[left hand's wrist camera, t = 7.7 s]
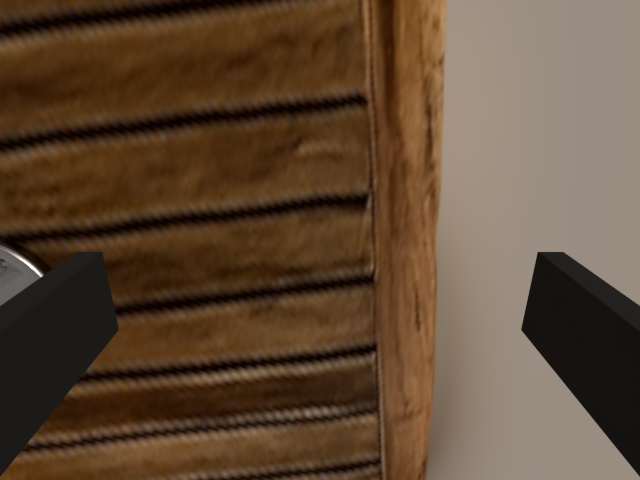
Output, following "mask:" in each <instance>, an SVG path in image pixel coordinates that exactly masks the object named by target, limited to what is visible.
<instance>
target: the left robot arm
mask: <svg viewBox="0 0 640 480" xmlns="http://www.w3.org/2000/svg"><path fill="white" fill-rule="evenodd" d="M118 330H119V329H118V324H117V319H116V315H115V310H114V305H113V301H112V296H111V291H110V287H109V282H108V277H107V273H106V268H105V263H104V258H103V254H102V252H76V253H75V254H73V255H72V256H70V257H69V258H68V259H66V260H65V261H63V262H62V263H61V264H59V265H58V266H56V267H55V268H53V269H52V270H51V268H50V267H49V266H48V265H47V264H46V263H45V262H43V261H42V260H41V259H40V258H39V257H37V256H36V255H35V254H33V253H32V252H31V251H29V250H27V249H26V248H24V247H22V246H20V245H18V244H16V243H14V242H12V241H10V240H7V239H4V238H1V237H0V476H1V475H2V474H3V472H4V471H5V470H6V469H7V468H8V466H9V465H10V464H11V463H12V461H13V460H14V459H15V458H16V456H17V455H18V454H19V453H20V451H21V450H22V449H23V448H24V446H25V445H26V444H27V443H28V442H29V440H30V439H31V438H32V437H33V435H34V434H35V433H36V432H37V430H38V429H39V428H40V427H41V425H42V424H43V423H44V422H45V421H46V419H47V418H48V417H49V416H50V414H51V413H52V412H53V411H54V409H55V408H56V407H57V406H58V404H59V403H60V402H61V401H62V399H63V398H64V397H65V396H66V395H67V393H68V392H69V391H70V390H71V388H72V387H73V386H74V385H75V383H76V382H77V381H78V380H79V378H80V377H81V376H82V375H83V374H84V372H85V371H86V370H87V369H88V367H89V366H90V365H91V364H92V362H93V361H94V360H95V359H96V357H97V356H98V355H99V354H100V352H101V351H102V350H103V349H104V348H105V346H106V345H107V344H108V343H109V341H110V340H111V339H112V338H113V336H114V335H115V334H116V333H117V331H118ZM521 330H522V331H523V333H524V334H525V335H526V336H527V338H528V339H529V340H530V341H531V343H532V344H533V345H534V346H535V348H536V349H537V350H538V351H539V352H540V354H541V355H542V356H543V357H544V359H545V360H546V361H547V362H548V364H549V365H550V366H551V367H552V369H553V370H554V371H555V372H556V374H557V375H558V376H559V377H560V378H561V380H562V381H563V382H564V383H565V385H566V386H567V387H568V388H569V390H570V391H571V392H572V393H573V395H574V396H575V397H576V398H577V399H578V401H579V402H580V403H581V404H582V406H583V407H584V408H585V409H586V411H587V412H588V413H589V414H590V416H591V417H592V418H593V419H594V421H595V422H596V423H597V424H598V425H599V427H600V428H601V429H602V430H603V432H604V433H605V434H606V435H607V437H608V438H609V439H610V440H611V442H612V443H613V444H614V445H615V446H616V448H617V449H618V450H619V451H620V453H621V454H622V455H623V456H624V458H625V459H626V460H627V461H628V463H629V464H630V465H631V466H632V468H633V469H634V470H635V471H636V472H637V474H638V475H639V476H640V306H639V305H638V304H636V303H635V302H633V301H632V300H631V299H629V298H628V297H626V296H625V295H624V294H622V293H621V292H619V291H618V290H616V289H615V288H614V287H612V286H611V285H609V284H608V283H606V282H605V281H604V280H602V279H601V278H599V277H598V276H597V275H595V274H594V273H592V272H591V271H589V270H588V269H587V268H585V267H584V266H582V265H581V264H579V263H578V262H577V261H575V260H574V259H572V258H571V257H570V256H568V255H567V254H565V253H564V252H538V254H537V258H536V263H535V268H534V273H533V277H532V282H531V287H530V291H529V296H528V301H527V305H526V310H525V315H524V319H523V324H522V329H521Z"/></svg>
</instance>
